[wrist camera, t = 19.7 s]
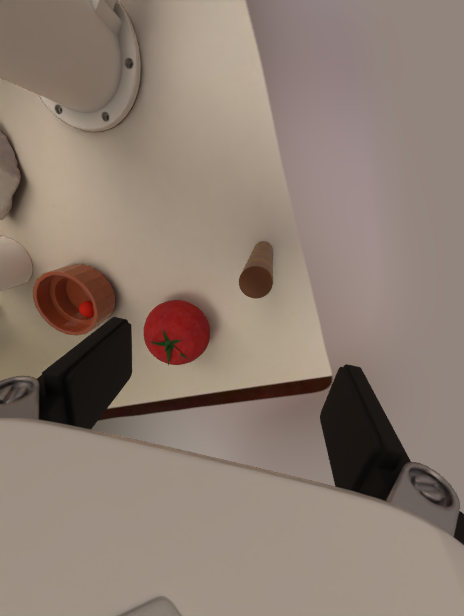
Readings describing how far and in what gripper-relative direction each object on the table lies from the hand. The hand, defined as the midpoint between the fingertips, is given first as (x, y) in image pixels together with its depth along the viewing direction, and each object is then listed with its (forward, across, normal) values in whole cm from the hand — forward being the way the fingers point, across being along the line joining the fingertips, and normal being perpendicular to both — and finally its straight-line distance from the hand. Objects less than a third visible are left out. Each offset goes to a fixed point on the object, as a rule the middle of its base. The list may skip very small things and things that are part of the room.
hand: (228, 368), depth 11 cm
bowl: (+24, +23, +10) cm, 34 cm away
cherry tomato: (+22, +22, +12) cm, 33 cm away
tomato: (+23, +8, +11) cm, 27 cm away
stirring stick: (+23, -1, -1) cm, 23 cm away
